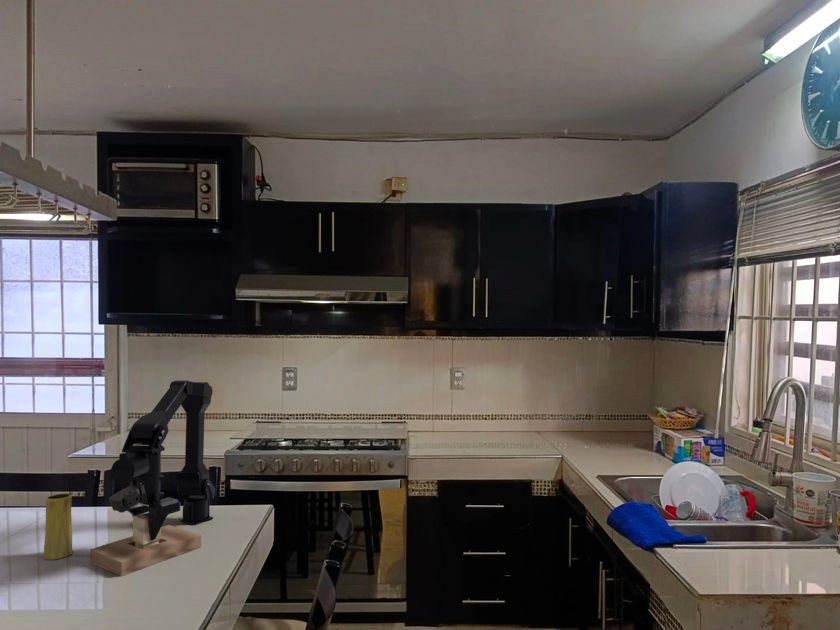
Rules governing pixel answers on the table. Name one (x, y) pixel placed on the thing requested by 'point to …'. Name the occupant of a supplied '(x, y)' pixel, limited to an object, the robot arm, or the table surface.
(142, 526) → the peg
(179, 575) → the table surface
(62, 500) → the vase
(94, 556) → the board
